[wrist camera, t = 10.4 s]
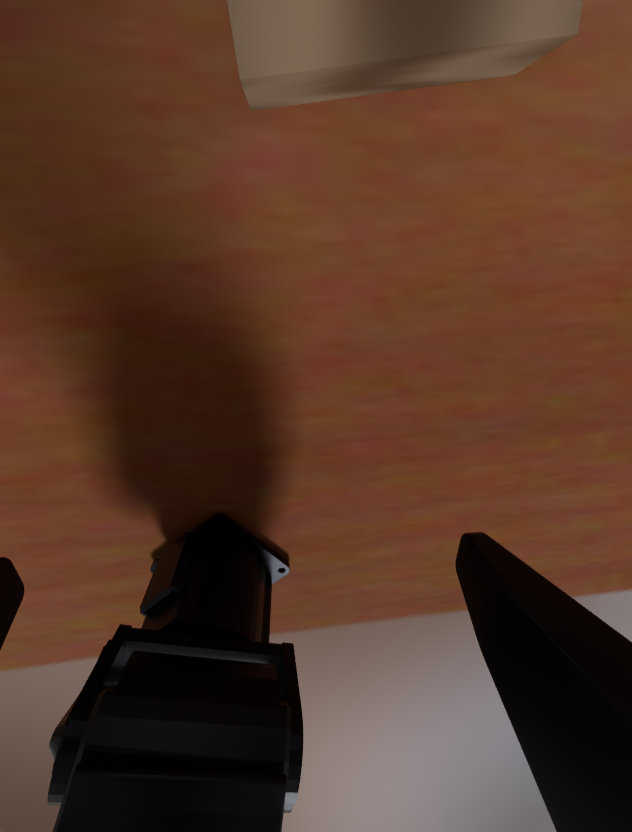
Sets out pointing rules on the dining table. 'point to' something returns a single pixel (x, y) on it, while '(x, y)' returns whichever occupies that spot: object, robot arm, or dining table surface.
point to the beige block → (387, 44)
